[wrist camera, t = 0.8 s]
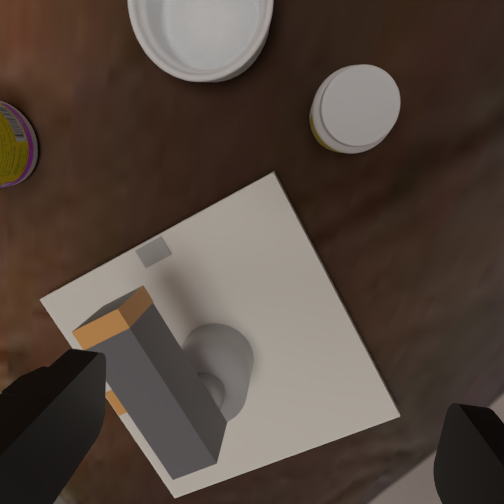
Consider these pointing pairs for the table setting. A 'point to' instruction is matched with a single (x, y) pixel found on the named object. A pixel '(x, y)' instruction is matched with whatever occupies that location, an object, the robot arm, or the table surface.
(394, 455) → the table surface
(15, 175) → the supplement bottle
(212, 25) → the ramekin
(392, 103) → the supplement bottle
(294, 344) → the base
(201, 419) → the handle
